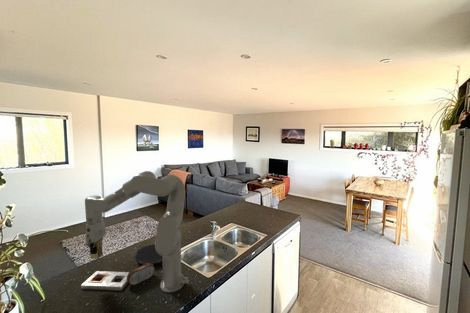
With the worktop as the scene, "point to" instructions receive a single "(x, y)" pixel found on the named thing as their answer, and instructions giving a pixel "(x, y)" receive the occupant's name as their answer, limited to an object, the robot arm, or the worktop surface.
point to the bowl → (148, 255)
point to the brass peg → (97, 250)
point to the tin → (140, 274)
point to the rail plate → (106, 281)
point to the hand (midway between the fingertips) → (96, 251)
